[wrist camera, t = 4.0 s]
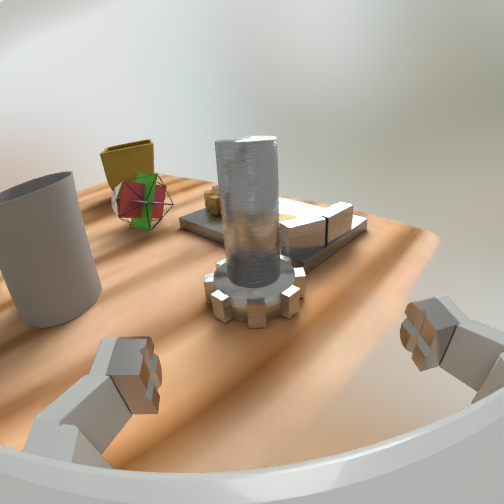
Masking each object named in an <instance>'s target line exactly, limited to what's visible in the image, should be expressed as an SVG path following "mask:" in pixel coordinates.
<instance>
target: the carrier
mask: <svg viewBox="0 0 504 504" xmlns="http://www.w3.org/2000/svg"><path fill="white" fill-rule="evenodd" d="M279 219H280V254H281V255H284V256H286V257H289V258H291V265H292V267H293V268H303V270H304V273H305V274H307V273H308V272H309V271H311V270H312V269H314V268H315V267H316V266H318V265H319V264H320V263H322V262H323V261H324V260H326V259H327V258H329V257H330V256H331V255H333V254H334V253H335V252H337V251H338V250H339V249H341V248H342V247H343V246H345V245H346V244H347V243H349V242H350V241H351V240H353V239H354V238H355V237H356V236H358V235H359V234H360V233H362V232H363V231H364V230H366V228H367V218H363V217H360V216H356V215H353V205H351V204H348V203H343V202H339V203H337V204H335V205H333V206H331V207H328V208H323V207H319V206H315V205H310V204H306V203H302V202H297V201H293V200H288V199H284V198H279ZM179 221H180V227H181V228H183V229H185V230H188V231H191V232H193V233H196V234H198V235H201V236H203V237H206V238H208V239H211V240H214V241H216V242H219V243H221V244H224V235H223V225H222V215H218V216H216V215H212V214H210V209H207V210H206V208H204V209H202V210H199V211H196V212H193V213H191V214H188V215H185V216H183V217H180V218H179Z"/></svg>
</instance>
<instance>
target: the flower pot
mask: <svg viewBox="0 0 504 504" xmlns="http://www.w3.org/2000/svg"><path fill="white" fill-rule="evenodd" d="M153 147H154V146H153V142H152V139H148V140H142V141H137V142H131V143H127V144H122V145H117V146H112V147H108V148H105V150H104V151H103V152H101V153H100V156H101V159H102V163H103V166H104V171H105V174H106V178H107V181H108V183H109V185H110V187H111V189H112V191H114V188H115V187H116V186H117V185H119V184H120V183H121V182H122V181H125V182H129V181H130V179H132V178H133V179H132V180H131V181H130V182H134V183H136V179H135V178H137V174H136V173H137V172H138V173H152V174H154V149H153ZM127 178H128V179H127ZM126 180H128V181H126ZM121 189H122V184H121V187H120V190H119V192H118V195H117V197H118V198H119V199H120V197H121V192H120V191H121Z"/></svg>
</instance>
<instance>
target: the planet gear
mask: <svg viewBox="0 0 504 504" xmlns="http://www.w3.org/2000/svg"><path fill="white" fill-rule="evenodd" d="M215 151H216V161H217V172H218V184H219V195H220V205H221V215H222V225H223V235H224V245H225V254H226V258H224V259H222V260H220V261H218V262H216V271H215V273H209V274H205V278H204V288H205V294H206V300H207V303H212V306H213V312H214V316H215V317H216V318H218V319H219V320H221V321H223V322H224V323H226V322H228V321H229V320H231V319H234V320H238V321H242V322H248V326H249V328H260V327H266V321H269V320H272V319H275V318H278V317H280V316H283V317H285V318H288V319H290V318H291V317H292V316H294V315H295V314H296V313H297V312H298V311H299V300H300V298H303V297H305V273H304V270H303V268H293V267H292V265H291V258H289V257H286V256H284V255H281V254H280V219H279V188H278V187H279V186H278V157H277V138H276V137H270V136H247V137H234V138H227V139H222V140H218V141H215Z"/></svg>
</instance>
